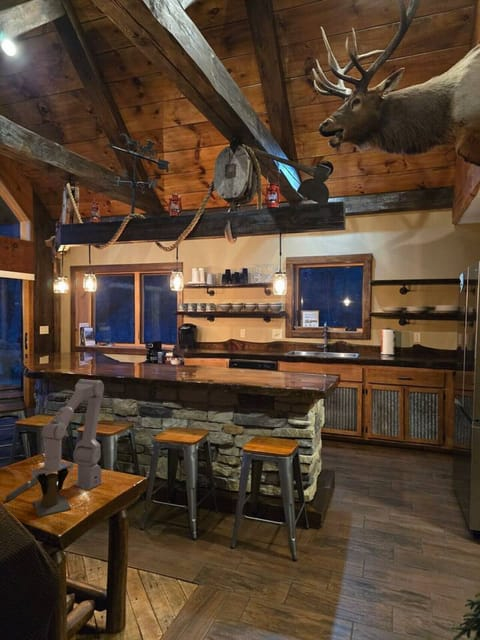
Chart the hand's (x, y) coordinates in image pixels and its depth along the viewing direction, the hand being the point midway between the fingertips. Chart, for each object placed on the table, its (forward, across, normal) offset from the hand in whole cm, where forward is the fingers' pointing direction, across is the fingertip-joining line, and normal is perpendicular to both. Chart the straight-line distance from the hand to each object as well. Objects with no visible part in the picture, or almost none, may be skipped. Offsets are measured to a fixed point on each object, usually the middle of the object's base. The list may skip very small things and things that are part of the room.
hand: (52, 491), depth 152 cm
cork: (+5, 0, -1) cm, 5 cm away
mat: (+5, 0, 0) cm, 5 cm away
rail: (+5, -6, -13) cm, 15 cm away
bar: (+5, +3, -20) cm, 21 cm away
